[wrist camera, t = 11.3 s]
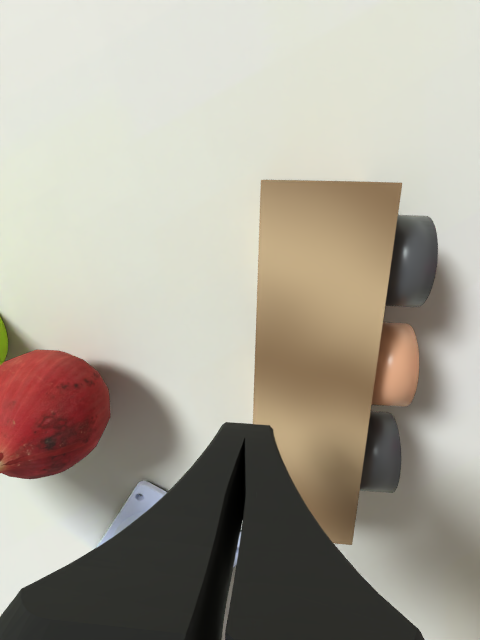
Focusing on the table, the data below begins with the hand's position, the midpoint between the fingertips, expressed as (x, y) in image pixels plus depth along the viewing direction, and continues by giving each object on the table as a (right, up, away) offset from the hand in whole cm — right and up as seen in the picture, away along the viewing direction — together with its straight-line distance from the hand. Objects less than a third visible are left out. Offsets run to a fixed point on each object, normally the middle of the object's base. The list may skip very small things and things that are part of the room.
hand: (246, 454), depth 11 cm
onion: (-9, +1, +12) cm, 15 cm away
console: (+3, +3, +10) cm, 11 cm away
